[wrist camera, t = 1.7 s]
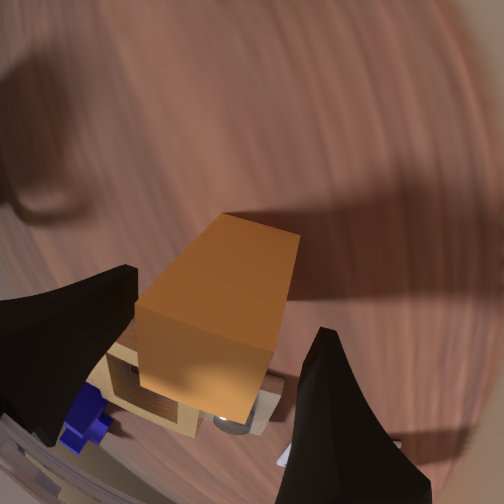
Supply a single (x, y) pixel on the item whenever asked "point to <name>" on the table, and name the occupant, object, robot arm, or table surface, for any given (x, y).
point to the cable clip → (86, 419)
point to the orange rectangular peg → (216, 317)
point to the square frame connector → (163, 408)
